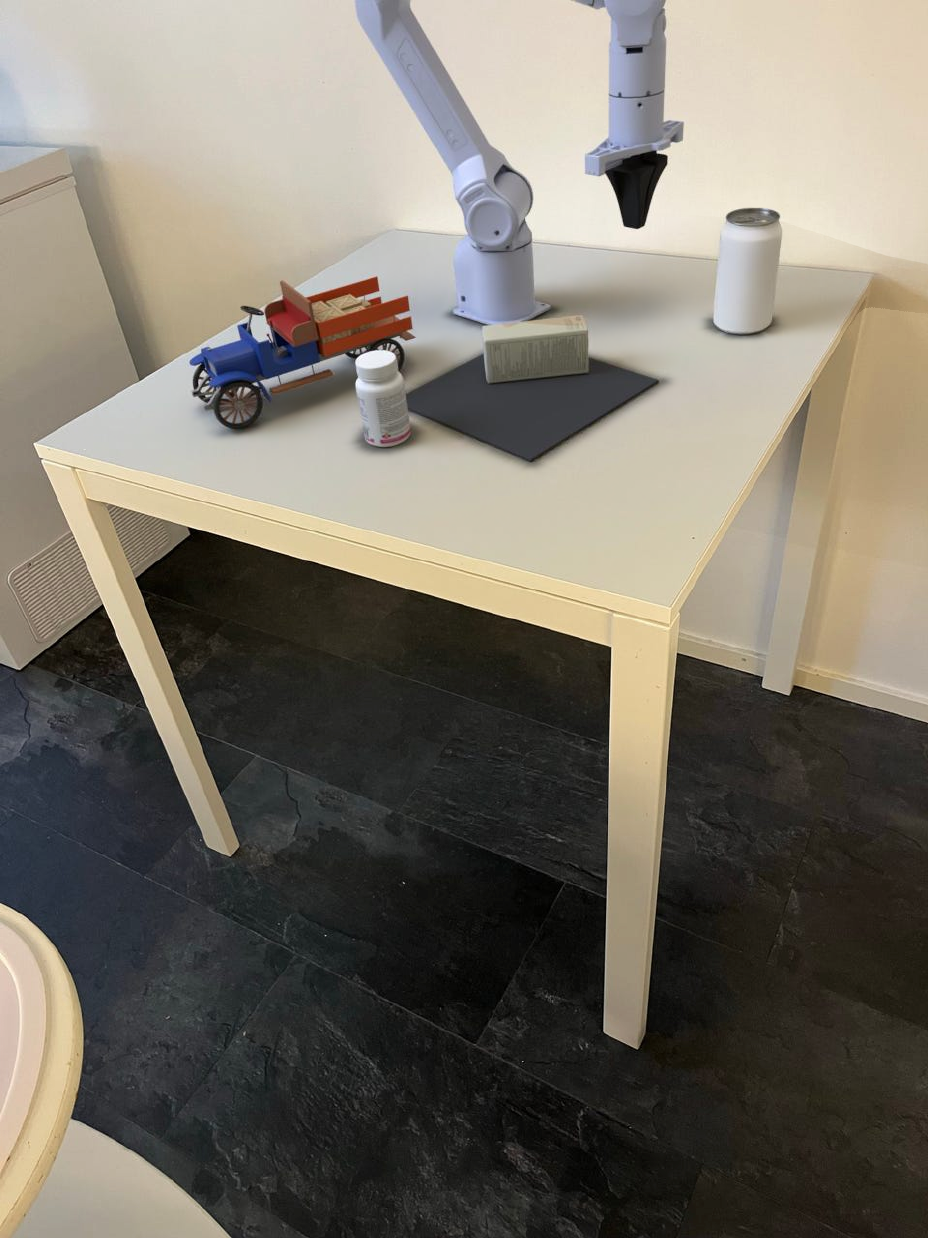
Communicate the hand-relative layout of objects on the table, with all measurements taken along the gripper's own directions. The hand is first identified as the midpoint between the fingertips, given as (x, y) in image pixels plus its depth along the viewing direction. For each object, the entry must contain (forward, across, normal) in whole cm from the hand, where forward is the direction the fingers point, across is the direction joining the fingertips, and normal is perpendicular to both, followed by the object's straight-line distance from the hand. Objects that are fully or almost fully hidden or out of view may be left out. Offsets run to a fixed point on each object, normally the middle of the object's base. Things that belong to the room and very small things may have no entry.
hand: (634, 225), depth 108 cm
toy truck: (+10, -35, +17) cm, 41 cm away
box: (+8, -14, -5) cm, 16 cm away
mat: (+10, -22, -3) cm, 25 cm away
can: (+11, +5, -12) cm, 17 cm away
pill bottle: (+10, -37, +2) cm, 39 cm away
